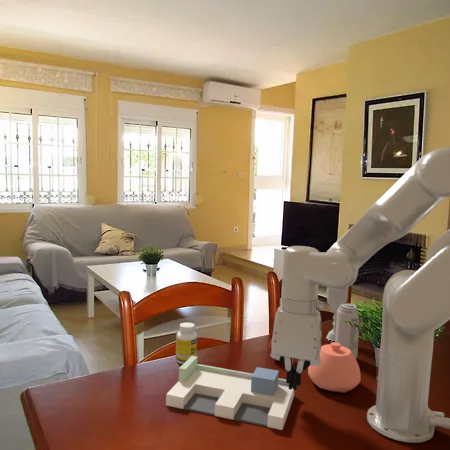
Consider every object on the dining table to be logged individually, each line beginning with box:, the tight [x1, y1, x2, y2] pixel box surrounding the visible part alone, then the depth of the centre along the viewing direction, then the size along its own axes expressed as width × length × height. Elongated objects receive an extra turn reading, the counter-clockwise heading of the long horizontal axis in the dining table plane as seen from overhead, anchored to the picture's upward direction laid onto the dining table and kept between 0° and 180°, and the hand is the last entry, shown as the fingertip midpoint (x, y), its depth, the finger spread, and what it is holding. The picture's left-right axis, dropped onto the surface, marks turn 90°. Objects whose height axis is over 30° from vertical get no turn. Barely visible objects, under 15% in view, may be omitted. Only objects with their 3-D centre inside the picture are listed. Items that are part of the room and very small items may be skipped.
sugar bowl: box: [307, 342, 362, 394], centre depth 105 cm, size 12×14×10 cm
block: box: [251, 366, 280, 396], centre depth 96 cm, size 5×5×4 cm
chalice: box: [325, 287, 349, 342], centre depth 134 cm, size 7×7×18 cm
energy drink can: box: [335, 302, 361, 360], centre depth 119 cm, size 6×6×15 cm
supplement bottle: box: [175, 322, 198, 365], centre depth 115 cm, size 5×5×10 cm
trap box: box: [165, 355, 295, 431], centre depth 95 cm, size 25×14×6 cm, turn 72°
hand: (293, 387), depth 94 cm, fingers closed
